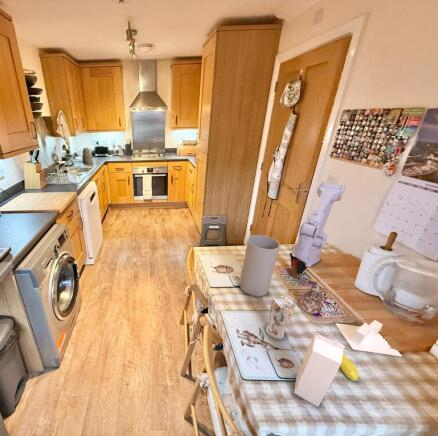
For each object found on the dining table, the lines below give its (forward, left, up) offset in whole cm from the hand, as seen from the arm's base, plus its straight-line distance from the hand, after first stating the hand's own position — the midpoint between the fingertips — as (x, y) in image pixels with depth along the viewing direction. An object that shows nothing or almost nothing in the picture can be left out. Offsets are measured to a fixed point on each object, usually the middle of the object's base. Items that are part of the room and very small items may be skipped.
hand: (296, 270), depth 115 cm
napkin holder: (+14, +34, -3) cm, 37 cm away
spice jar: (0, 0, -3) cm, 3 cm away
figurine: (+16, +15, -3) cm, 22 cm away
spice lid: (0, 0, +5) cm, 5 cm away
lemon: (+34, +35, -3) cm, 49 cm away
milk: (+51, +32, -3) cm, 60 cm away
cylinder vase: (+26, -5, -3) cm, 27 cm away
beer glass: (+40, +15, -3) cm, 43 cm away
